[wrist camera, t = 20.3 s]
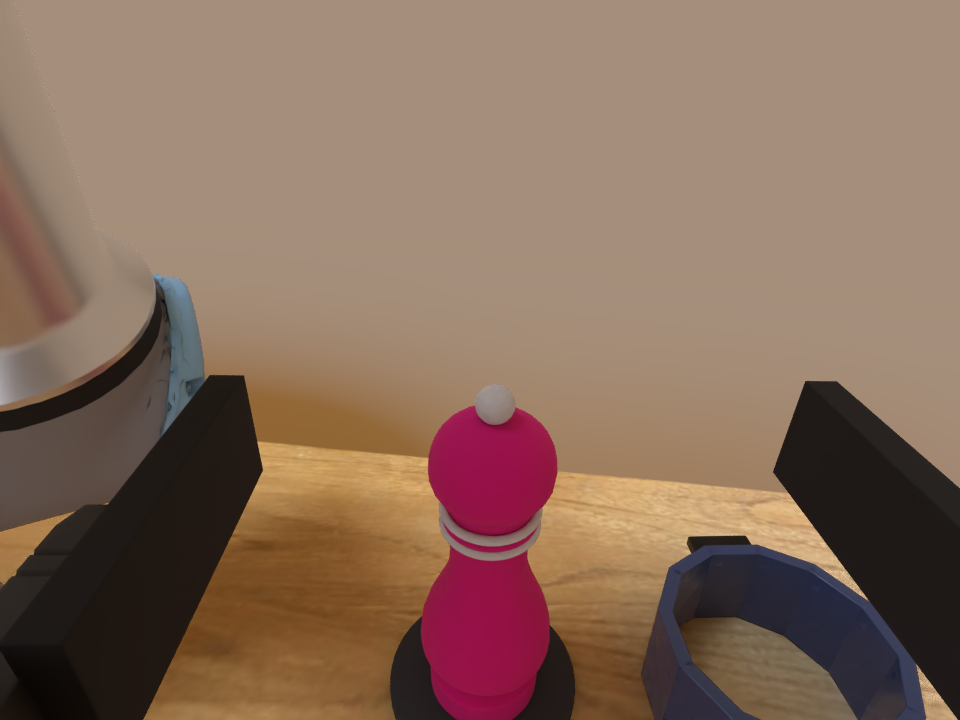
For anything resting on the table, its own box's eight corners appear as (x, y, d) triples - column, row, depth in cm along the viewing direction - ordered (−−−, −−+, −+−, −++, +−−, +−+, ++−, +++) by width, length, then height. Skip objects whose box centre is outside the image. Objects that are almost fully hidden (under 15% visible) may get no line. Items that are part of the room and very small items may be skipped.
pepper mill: (437, 613, 37) (432, 343, 28) (546, 629, 36) (580, 356, 27) (408, 726, 31) (390, 425, 21) (540, 749, 30) (581, 446, 20)
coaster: (351, 702, 32) (350, 696, 32) (460, 575, 41) (460, 569, 40) (515, 831, 27) (515, 825, 27) (602, 655, 35) (604, 649, 35)
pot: (702, 874, 26) (733, 809, 23) (614, 590, 40) (627, 527, 37) (962, 861, 27) (1023, 797, 24) (786, 586, 40) (811, 524, 38)
